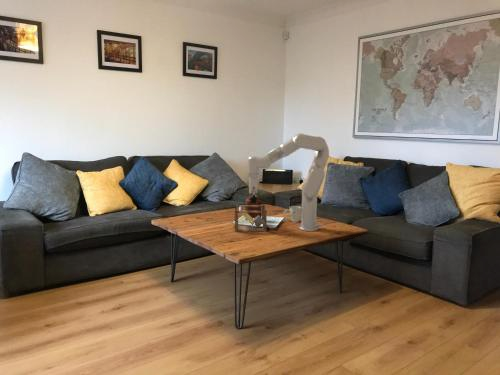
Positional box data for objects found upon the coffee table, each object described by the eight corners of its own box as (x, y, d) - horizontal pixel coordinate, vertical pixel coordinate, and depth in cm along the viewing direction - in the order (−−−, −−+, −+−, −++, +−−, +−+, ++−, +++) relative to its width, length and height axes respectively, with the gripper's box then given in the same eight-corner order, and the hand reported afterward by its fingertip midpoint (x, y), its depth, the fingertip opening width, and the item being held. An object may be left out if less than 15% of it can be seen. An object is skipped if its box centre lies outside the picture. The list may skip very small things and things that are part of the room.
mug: (301, 222, 289) (302, 208, 287) (283, 222, 289) (283, 208, 288) (300, 219, 297) (301, 205, 296) (282, 219, 297) (283, 205, 296)
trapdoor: (251, 219, 281) (253, 217, 281) (252, 224, 267) (254, 222, 267) (239, 207, 279) (240, 205, 279) (239, 211, 266) (240, 209, 265)
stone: (257, 225, 277) (263, 220, 277) (257, 227, 272) (263, 222, 272) (252, 219, 276) (258, 215, 276) (253, 221, 271) (258, 216, 271)
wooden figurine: (262, 219, 298) (262, 194, 295) (261, 221, 291) (261, 196, 289) (245, 218, 299) (246, 193, 297) (244, 220, 293) (244, 195, 290)
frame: (264, 223, 285) (264, 204, 283) (266, 231, 265) (266, 210, 263) (235, 223, 284) (235, 204, 282) (234, 231, 264) (234, 210, 262)
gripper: (247, 173, 278) (247, 199, 280) (248, 177, 260) (248, 204, 263) (258, 173, 278) (258, 199, 280) (260, 177, 261) (259, 204, 263)
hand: (253, 201), depth 272 cm, fingers open, 9 cm apart
